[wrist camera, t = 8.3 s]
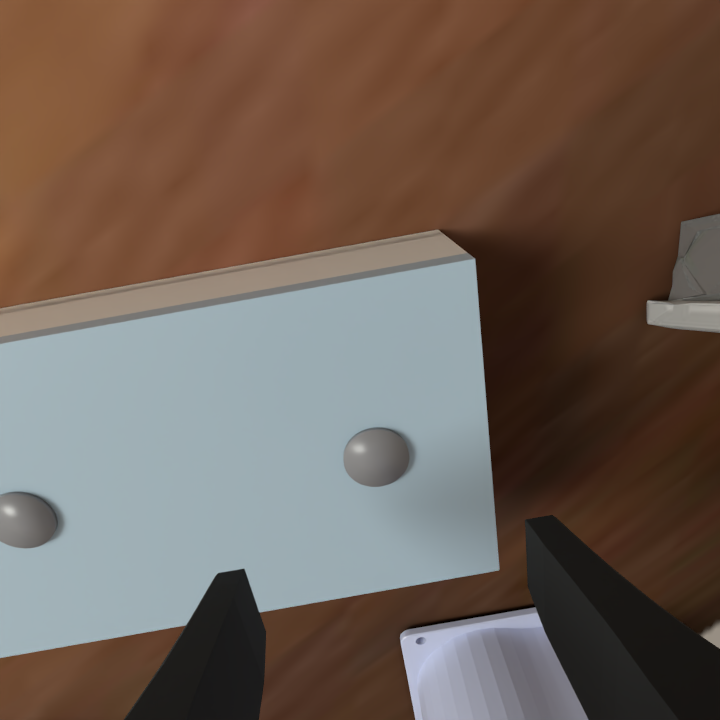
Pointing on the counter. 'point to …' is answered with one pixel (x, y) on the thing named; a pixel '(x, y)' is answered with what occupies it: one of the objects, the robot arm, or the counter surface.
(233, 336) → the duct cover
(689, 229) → the electrical switch
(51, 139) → the counter surface
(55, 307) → the base
